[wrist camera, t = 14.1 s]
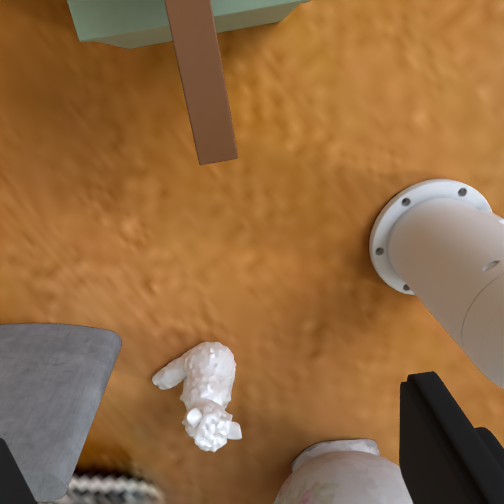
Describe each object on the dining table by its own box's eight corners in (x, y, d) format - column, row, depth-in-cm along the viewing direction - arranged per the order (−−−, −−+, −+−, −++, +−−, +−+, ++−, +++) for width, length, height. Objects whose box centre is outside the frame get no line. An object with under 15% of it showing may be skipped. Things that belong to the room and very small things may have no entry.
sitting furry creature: (151, 375, 48) (129, 465, 37) (183, 319, 45) (169, 398, 34) (224, 402, 50) (223, 495, 39) (258, 350, 47) (268, 434, 36)
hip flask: (-26, 351, 45) (-196, 540, 27) (-33, 319, 44) (-220, 499, 25) (122, 354, 47) (55, 537, 28) (120, 323, 45) (48, 497, 27)
